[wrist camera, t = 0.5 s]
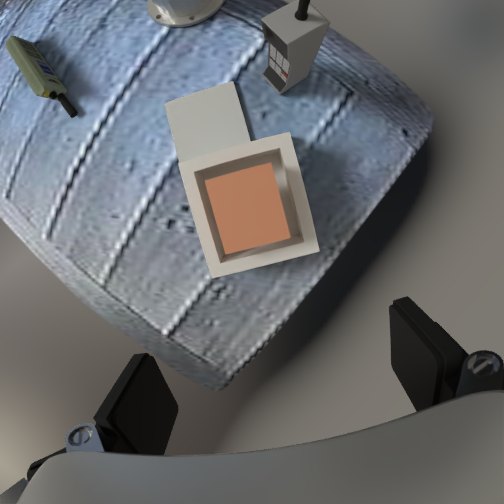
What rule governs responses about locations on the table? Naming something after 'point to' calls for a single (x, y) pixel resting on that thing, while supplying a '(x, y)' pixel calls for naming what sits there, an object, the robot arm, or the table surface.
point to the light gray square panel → (206, 121)
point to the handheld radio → (38, 72)
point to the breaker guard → (291, 196)
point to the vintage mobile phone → (292, 43)
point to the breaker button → (248, 208)
